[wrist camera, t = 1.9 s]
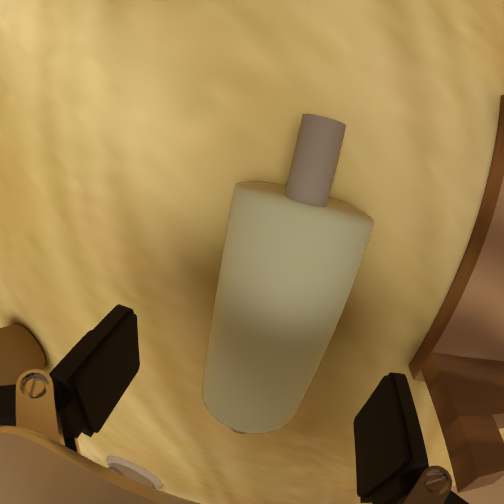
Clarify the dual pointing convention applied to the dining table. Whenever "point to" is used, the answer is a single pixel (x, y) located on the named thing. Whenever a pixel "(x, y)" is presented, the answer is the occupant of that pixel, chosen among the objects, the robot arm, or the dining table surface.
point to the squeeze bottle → (18, 354)
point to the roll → (282, 285)
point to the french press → (133, 472)
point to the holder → (472, 345)
